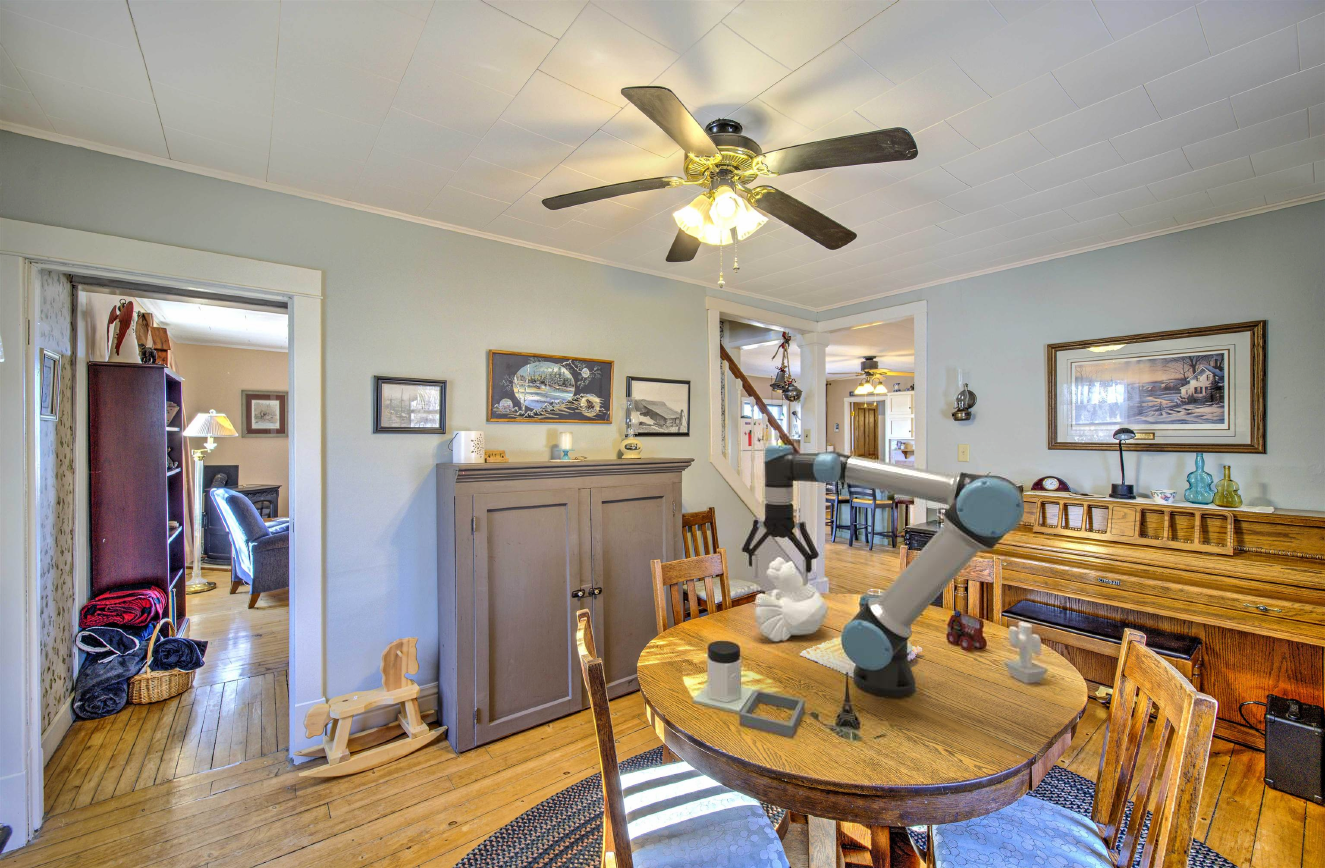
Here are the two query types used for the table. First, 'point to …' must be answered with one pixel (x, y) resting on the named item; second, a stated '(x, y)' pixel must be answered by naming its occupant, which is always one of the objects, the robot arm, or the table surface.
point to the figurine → (1025, 654)
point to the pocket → (770, 724)
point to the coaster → (731, 706)
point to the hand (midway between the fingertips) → (779, 581)
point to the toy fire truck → (966, 631)
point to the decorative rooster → (789, 604)
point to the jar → (724, 671)
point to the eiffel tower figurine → (845, 720)
